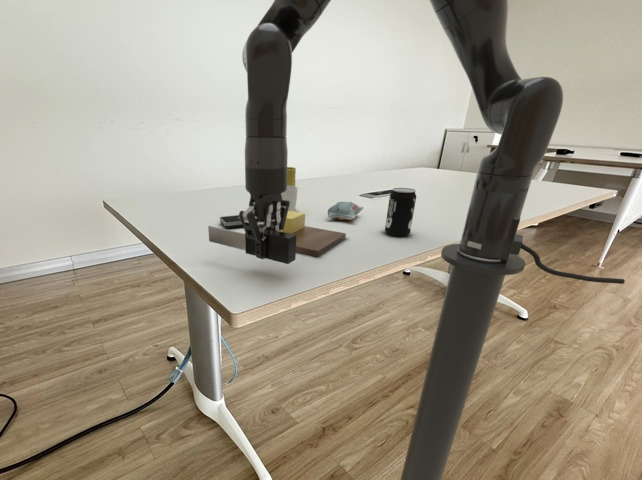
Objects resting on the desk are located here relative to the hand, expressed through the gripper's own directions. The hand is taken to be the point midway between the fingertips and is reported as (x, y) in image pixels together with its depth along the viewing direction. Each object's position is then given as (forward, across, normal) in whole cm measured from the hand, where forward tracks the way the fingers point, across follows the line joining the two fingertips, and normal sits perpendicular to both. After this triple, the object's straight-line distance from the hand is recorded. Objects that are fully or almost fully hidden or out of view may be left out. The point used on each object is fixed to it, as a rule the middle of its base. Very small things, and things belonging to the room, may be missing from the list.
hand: (266, 254), depth 68 cm
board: (+4, +22, +4) cm, 23 cm away
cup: (+4, +36, +18) cm, 41 cm away
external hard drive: (+4, +25, +26) cm, 37 cm away
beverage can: (+4, +42, -15) cm, 45 cm away
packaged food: (+4, +49, +3) cm, 49 cm away
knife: (0, 0, +4) cm, 4 cm away
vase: (+4, +46, +23) cm, 52 cm away
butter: (+3, +25, +9) cm, 27 cm away
